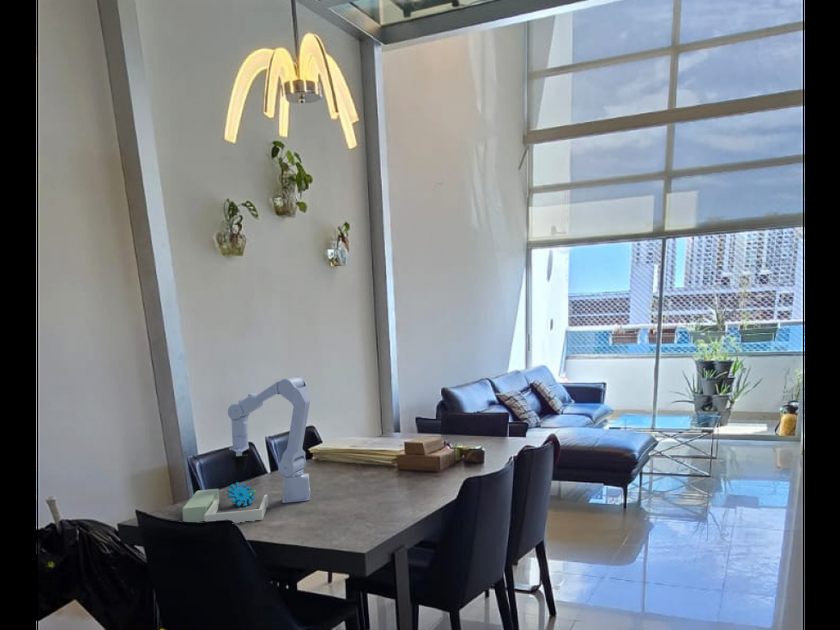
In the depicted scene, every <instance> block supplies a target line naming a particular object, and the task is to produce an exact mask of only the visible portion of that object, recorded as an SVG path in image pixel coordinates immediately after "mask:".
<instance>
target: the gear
mask: <svg viewBox="0 0 840 630" xmlns="http://www.w3.org/2000/svg"><path fill="white" fill-rule="evenodd" d="M239 485H240V482H238V481H237V482H235V484H234V483H232V484H230V485H229V488H228V489H227V493H228V494H227V498H228V499H230V498H231V500H230V501H231V503H232V504H235V505H236V506H238V507H240V506H241V505H242V503H243V505H242V507H245V506H246V507H247V506H248V505H249V506H250V505H252V504H253V501H254V500H255V498H256V496H254V495H255V494H256V493H257V490H256V489H253V490H251V489H252V488H251V486H250V485H247V487H245V486H246V483H245V482H242V483H241V485H240V486H239ZM246 507H245V508H246Z"/></svg>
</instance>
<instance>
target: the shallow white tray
mask: <svg viewBox="0 0 840 630" xmlns="http://www.w3.org/2000/svg"><path fill="white" fill-rule="evenodd" d="M268 507H269V497H268V494H264V495H263V498H262V501H261V503H260V506H259V508H258V509H257V508H256V509H246V510H236V511H226V512H218V510H219V504H218V499H216V500H214V502H213V503H212V505H211V506H210V508H209V509H208V510H207V512H206V513H205V515H204V521H216V520H225V519H228V520H232V521H234V522H235V523H234V524H239V523H240V522H242V523H246V522H245V521H252V522H256V521H255V520H261V521H263V520H262V519H264V516H265V514H266V512H267V509H266V508H268Z"/></svg>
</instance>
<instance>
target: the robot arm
mask: <svg viewBox="0 0 840 630" xmlns="http://www.w3.org/2000/svg"><path fill="white" fill-rule="evenodd" d="M308 385H309V384H308V383H307V382H306V381H305V379H304V378H302V377H301V376H294V377H291V378H283V379H281V380H278V381H276V382H274V383H273V384H272V385H270V386H269V387H267V388H265V389H264V390H263V391H261V392H260V393H257V392H256V393H255V392H254V393H253V392H251V393H249V394H247V397H246V398H244V399H240V400H238V403H231V405H229V407H228V408H227V415H228V417H229V418H230V419H231V439H232V446H230V447H229V451H233V453H234V454H232V455H231V459H232V460H233V462H234V466H235V469H236V473H237V475H244V473H245V469H246V468H247V462H248V455H249V452H250V451H251V450H250V446H249V430H248V429H249V427H248V426H249V425H248V420H249V416H250V414H251V413H253V412H255V411H256V410H258V409H260V408H262V407H263V405H264V404H263V403H264V402H265V401H267V400H269V399H270V398H272V397H274V396H276V395H281V397H283V398H284V399H286V400H287V401H288V402H290V403H291V404H292V406H293V409H292V414H291V422H290V428H289V435H288V438H287V439H288V441H287V447H286V449H285V450H284V452H283V453H282V455H281V459H280V461H279V462H278V466H277V468H278V472H279V473H280V474H281V476H282V481H283V482H282V484H283V485H282V487H283V497H282V503H283V504H286V503H296V502H297V503H298V502H306V501H310V497H311V488H310V474H309V473H304V469H305V468H306V465H307V459H306V451H305V450H304V449H303V445H304V442H305V441H304V440H305V436H306V435H305V434H306V428H307V422H308V416H309V408H310V398H309V397H310V396H309V393H308Z"/></svg>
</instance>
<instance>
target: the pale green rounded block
mask: <svg viewBox="0 0 840 630" xmlns="http://www.w3.org/2000/svg"><path fill="white" fill-rule="evenodd" d="M216 499H218V505H219V504H220V490H219V488H210V489H202V490H201V489H200V490H196V491H195V493H194V494H192V496H191V497H190V499H189V500H188V501H187V503H186V504H184V506H183V507H182V522H183V521H204V515H205V513H206V512H207V510H208V509H209V508H210V506H211V505H212V503H213V502H214V500H216Z"/></svg>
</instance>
